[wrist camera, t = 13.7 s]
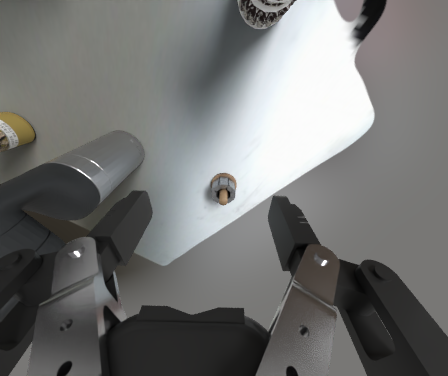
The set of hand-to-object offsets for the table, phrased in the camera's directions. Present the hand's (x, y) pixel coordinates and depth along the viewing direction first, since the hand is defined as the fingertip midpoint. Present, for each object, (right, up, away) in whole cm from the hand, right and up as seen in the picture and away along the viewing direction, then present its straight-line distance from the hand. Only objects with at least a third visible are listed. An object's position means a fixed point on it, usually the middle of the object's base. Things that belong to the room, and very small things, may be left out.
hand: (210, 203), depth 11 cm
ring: (+1, +2, +34) cm, 34 cm away
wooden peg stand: (+1, +2, +35) cm, 35 cm away
